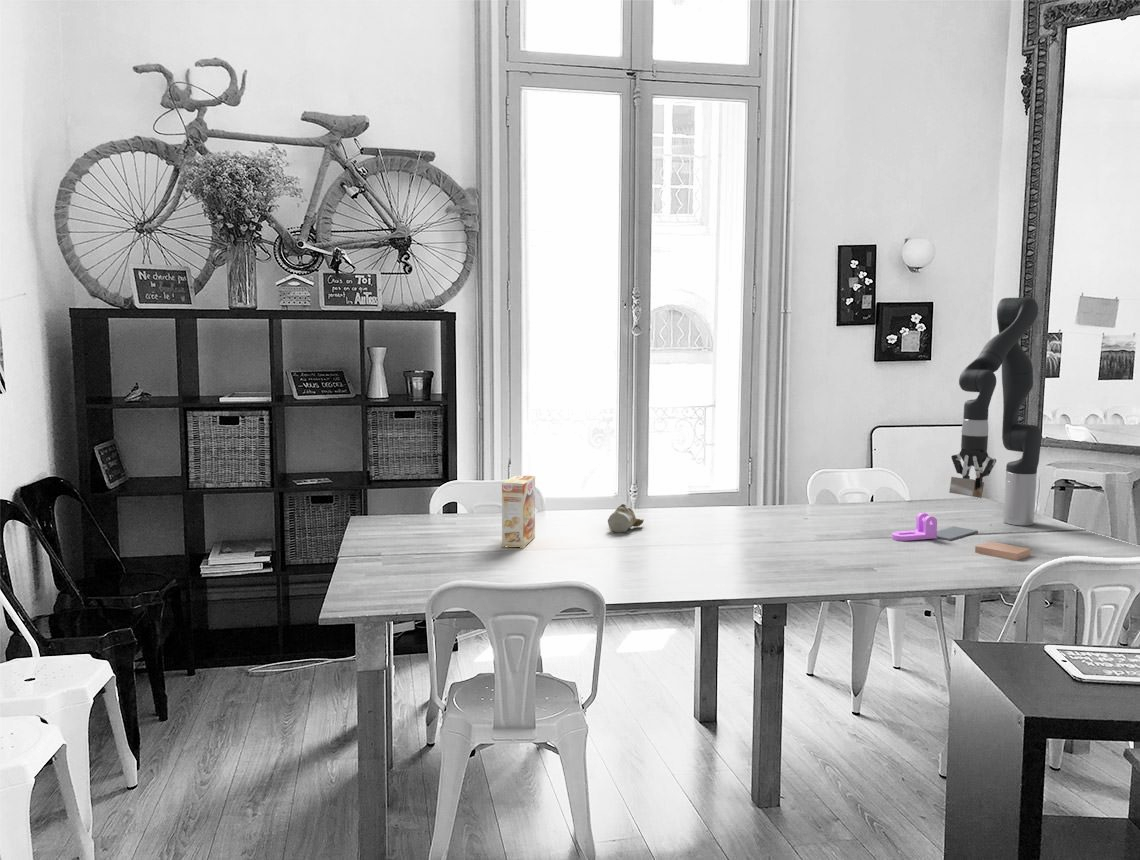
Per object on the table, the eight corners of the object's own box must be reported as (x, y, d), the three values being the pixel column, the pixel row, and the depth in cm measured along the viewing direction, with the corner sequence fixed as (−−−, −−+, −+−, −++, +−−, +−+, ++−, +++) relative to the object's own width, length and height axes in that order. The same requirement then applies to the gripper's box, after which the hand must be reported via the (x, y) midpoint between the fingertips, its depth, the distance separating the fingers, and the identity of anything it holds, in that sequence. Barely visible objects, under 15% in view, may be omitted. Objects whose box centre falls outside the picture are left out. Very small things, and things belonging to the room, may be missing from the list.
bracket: (927, 533, 295) (927, 512, 294) (936, 538, 290) (937, 516, 289) (888, 536, 293) (888, 515, 292) (897, 541, 288) (897, 519, 287)
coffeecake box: (524, 548, 277) (524, 483, 275) (500, 547, 278) (500, 482, 276) (536, 537, 292) (536, 475, 289) (514, 536, 293) (513, 474, 291)
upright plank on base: (966, 495, 299) (968, 480, 299) (988, 498, 294) (990, 483, 294) (949, 492, 291) (951, 476, 291) (971, 495, 286) (973, 479, 286)
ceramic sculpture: (600, 505, 297) (615, 500, 311) (599, 532, 298) (614, 525, 312) (632, 508, 294) (646, 502, 308) (631, 535, 294) (645, 528, 308)
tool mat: (953, 528, 306) (954, 526, 306) (977, 532, 300) (978, 530, 300) (925, 536, 294) (925, 534, 294) (949, 540, 288) (949, 538, 288)
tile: (989, 541, 280) (975, 546, 274) (1030, 548, 271) (1017, 553, 265) (989, 548, 280) (974, 553, 274) (1030, 556, 271) (1016, 561, 265)
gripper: (1002, 434, 289) (999, 490, 291) (958, 430, 299) (955, 484, 301) (992, 436, 284) (989, 493, 286) (947, 432, 294) (944, 487, 296)
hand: (971, 488), depth 293 cm, fingers closed on upright plank on base, 3 cm apart
